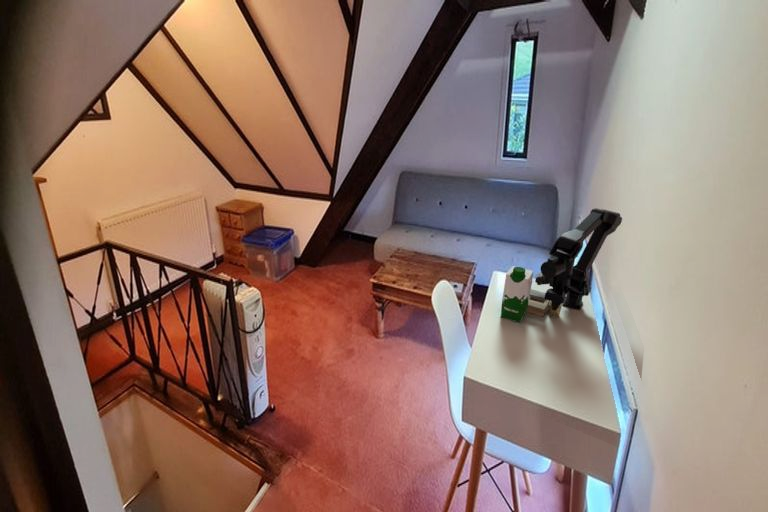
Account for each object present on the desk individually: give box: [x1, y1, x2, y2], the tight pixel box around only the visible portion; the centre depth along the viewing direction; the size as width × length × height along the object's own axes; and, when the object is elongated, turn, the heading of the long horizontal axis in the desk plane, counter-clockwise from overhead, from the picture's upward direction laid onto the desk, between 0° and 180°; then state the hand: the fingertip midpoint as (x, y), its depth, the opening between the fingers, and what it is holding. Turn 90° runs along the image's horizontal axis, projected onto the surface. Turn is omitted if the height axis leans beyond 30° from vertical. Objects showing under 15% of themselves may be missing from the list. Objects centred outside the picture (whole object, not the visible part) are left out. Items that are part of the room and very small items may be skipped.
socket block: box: [525, 288, 550, 317], centre depth 150 cm, size 10×8×8 cm
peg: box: [547, 301, 563, 318], centre depth 145 cm, size 4×4×9 cm
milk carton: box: [500, 265, 534, 323], centre depth 142 cm, size 9×9×20 cm
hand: (555, 307), depth 145 cm, fingers closed on peg, 4 cm apart
